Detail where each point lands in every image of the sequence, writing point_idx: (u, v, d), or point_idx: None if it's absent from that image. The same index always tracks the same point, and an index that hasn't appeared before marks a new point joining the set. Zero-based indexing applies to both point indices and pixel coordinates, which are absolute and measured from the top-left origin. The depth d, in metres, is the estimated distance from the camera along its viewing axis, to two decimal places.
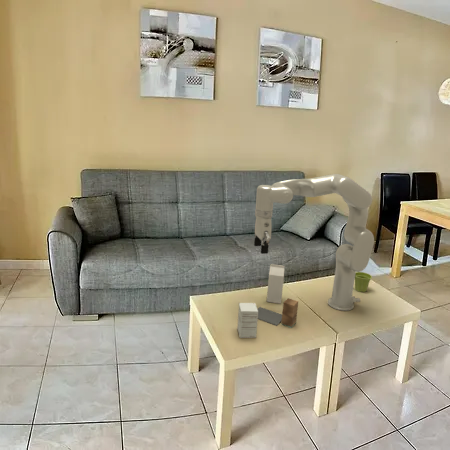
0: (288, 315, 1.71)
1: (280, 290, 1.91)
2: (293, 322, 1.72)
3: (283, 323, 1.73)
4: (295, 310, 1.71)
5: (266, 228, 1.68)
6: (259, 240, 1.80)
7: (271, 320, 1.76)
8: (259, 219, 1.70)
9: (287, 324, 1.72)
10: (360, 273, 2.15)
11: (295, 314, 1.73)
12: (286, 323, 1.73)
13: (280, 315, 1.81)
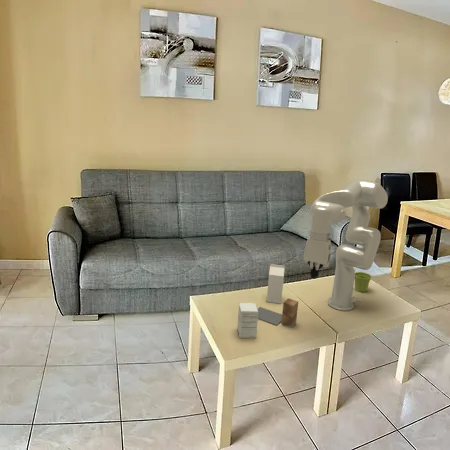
0: (288, 315, 1.71)
1: (280, 290, 1.91)
2: (293, 322, 1.72)
3: (283, 323, 1.73)
4: (295, 310, 1.71)
5: (329, 251, 1.57)
6: None
7: (271, 320, 1.76)
8: (321, 243, 1.55)
9: (287, 324, 1.72)
10: (360, 273, 2.15)
11: (295, 314, 1.73)
12: (286, 323, 1.73)
13: (280, 315, 1.81)
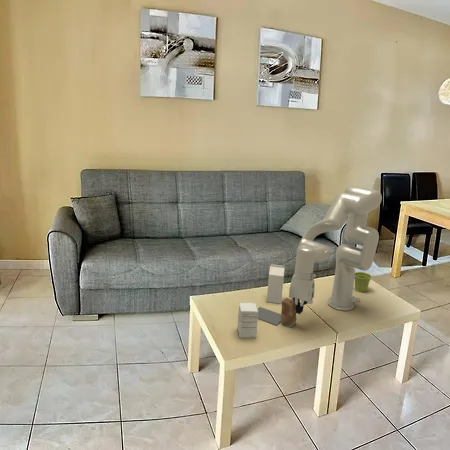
0: (287, 314, 1.71)
1: (280, 290, 1.91)
2: (293, 321, 1.72)
3: (283, 323, 1.73)
4: (294, 309, 1.72)
5: (313, 289, 1.64)
6: None
7: (271, 320, 1.76)
8: (304, 282, 1.63)
9: (287, 323, 1.72)
10: (360, 273, 2.15)
11: (294, 313, 1.73)
12: (286, 323, 1.73)
13: (280, 315, 1.81)
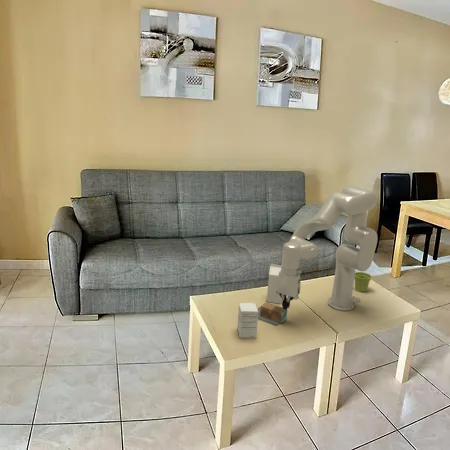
0: (271, 313, 1.76)
1: None
2: (280, 310, 1.75)
3: (280, 320, 1.74)
4: (270, 306, 1.78)
5: (299, 285, 1.68)
6: None
7: (271, 320, 1.76)
8: (290, 278, 1.67)
9: (280, 316, 1.74)
10: (360, 273, 2.15)
11: (274, 307, 1.78)
12: (279, 317, 1.74)
13: None
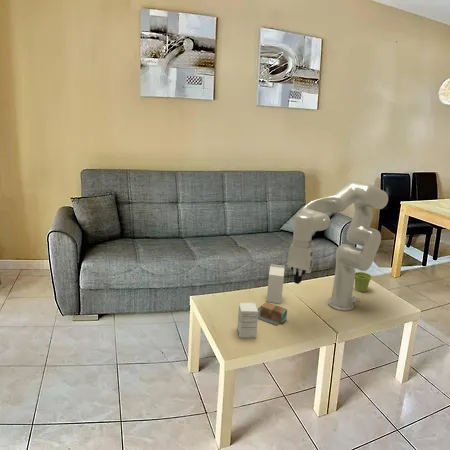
0: (271, 313, 1.76)
1: (280, 290, 1.91)
2: (280, 310, 1.75)
3: (280, 320, 1.74)
4: (270, 306, 1.78)
5: (311, 257, 1.62)
6: None
7: (271, 320, 1.76)
8: (302, 250, 1.61)
9: (280, 316, 1.74)
10: (360, 273, 2.15)
11: (274, 307, 1.78)
12: (279, 317, 1.74)
13: None
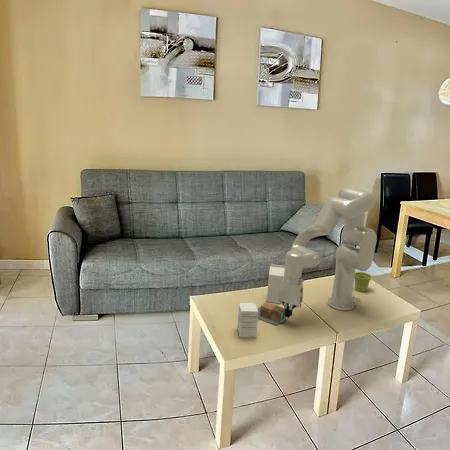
0: (270, 313, 1.76)
1: None
2: (280, 310, 1.75)
3: (280, 320, 1.74)
4: (269, 306, 1.78)
5: (301, 293, 1.68)
6: None
7: (271, 320, 1.76)
8: (293, 286, 1.67)
9: (279, 316, 1.74)
10: (360, 273, 2.15)
11: (274, 307, 1.78)
12: (279, 317, 1.74)
13: None
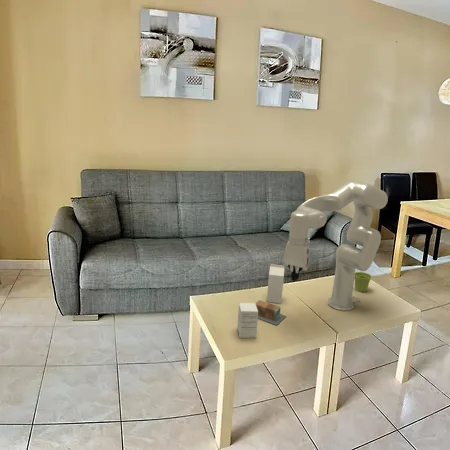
0: (264, 311, 1.78)
1: (280, 290, 1.91)
2: (273, 308, 1.77)
3: (273, 318, 1.76)
4: (263, 304, 1.80)
5: (308, 255, 1.63)
6: None
7: (271, 320, 1.76)
8: (299, 248, 1.61)
9: (273, 314, 1.75)
10: (360, 273, 2.15)
11: (268, 305, 1.79)
12: (272, 315, 1.76)
13: (280, 315, 1.81)
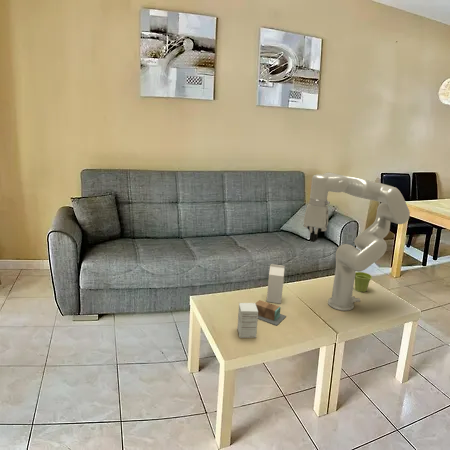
0: (264, 311, 1.78)
1: (280, 290, 1.91)
2: (273, 308, 1.77)
3: (273, 318, 1.76)
4: (263, 304, 1.80)
5: (327, 216, 1.73)
6: None
7: (271, 320, 1.76)
8: (319, 209, 1.71)
9: (273, 314, 1.75)
10: (360, 273, 2.15)
11: (268, 305, 1.79)
12: (272, 315, 1.76)
13: (280, 315, 1.81)
